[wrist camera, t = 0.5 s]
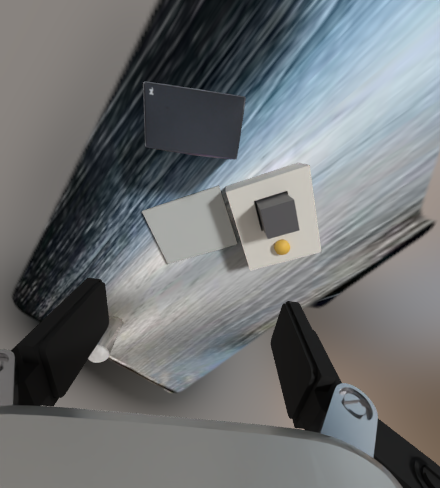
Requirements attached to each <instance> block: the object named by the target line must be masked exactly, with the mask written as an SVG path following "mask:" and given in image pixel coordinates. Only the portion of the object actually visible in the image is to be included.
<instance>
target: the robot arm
mask: <svg viewBox="0 0 440 488" xmlns="http://www.w3.org/2000/svg"><path fill="white" fill-rule="evenodd" d="M108 326H109V315H108V306H107V297H106V288H105V283H103V282H102V280H101V279H94V278H87V279H86V280H85V281H84V282H83V283H82V284H81V285H80V286H79V287H78V288H76V289H75V290H74V291H73V292H72V293H71V294H70V295H69V296H68V297H67V298H66V299H65V300H64V301H63V302H62V303H61V304H60V305H59V306H57V307H56V308H55V309H54V310H53V311H52V312H51V313H50V314H49V315H48V316H47V317H46V318H45V319H44V320H43V321H42V322H41V323H40V324H39V325H37V326H36V327H35V328H34V329H33V330H32V331H31V332H30V333H29V334H28V335H27V336H26V337H25V338H24V339H23V340H22V341H21V342H20V343H19V344H17V346H15V348H13V349H12V350H11V351H10V350H6V349H1V350H0V488H440V467H439V466H438V465H437V464H436V463H435V462H434V461H432V460H431V459H430V458H428V457H427V456H426V455H424V454H423V453H422V452H421V451H419V450H418V449H417V448H415V447H414V446H413V445H412V444H410V443H409V442H408V441H406V440H405V439H404V438H403V437H401V436H400V435H399V434H397V433H396V432H395V431H393V430H392V429H391V428H390V427H388V426H387V425H386V424H384V423H383V422H382V421H381V420H379V419H378V414H377V411H376V408H375V406H374V405H373V403H372V401H371V400H370V399H369V398H368V397H367V396H366V394H365V393H363V392H362V391H361V390H360V389H358V388H356V387H355V386H353V385H349V384H347V383H342V382H341V381H340V379H339V377H338V375H337V373H336V371H335V369H334V367H333V365H332V363H331V361H330V359H329V357H328V355H327V353H326V351H325V350H324V347H323V345H322V343H321V341H320V340H319V337H318V336H317V334H316V332H315V331H314V330H312V328H311V326H310V324H309V322H308V320H307V318H306V316H305V314H304V312H303V310H302V308H301V306H300V304H299V303H298V302H290V301H287V302H286V304H283V305H282V308H281V311H280V314H279V317H278V320H277V323H276V326H275V329H274V332H273V335H272V339H271V348H272V351H273V356H274V360H275V364H276V368H277V372H278V376H279V380H280V384H281V389H282V393H283V396H284V400H285V405H286V409H287V413H288V416H289V418H290V419H293V423H294V427H295V428H303V429H305V430H300V429H292V428H283V427H274V426H266V425H257V424H246V423H236V422H225V421H215V420H204V419H193V418H182V417H171V416H159V415H148V414H137V413H124V412H113V411H101V410H88V409H77V408H62V407H47V406H54V405H55V403H56V402H57V400H58V399H59V398H61V397H63V396H64V395H65V394H66V392H67V391H68V389H69V387H70V386H71V384H72V383H73V381H74V380H75V378H76V377H77V375H78V373H79V372H80V370H81V369H82V367H83V366H84V364H85V363H86V361H87V360H88V358H89V356H90V355H91V353H92V352H93V350H94V349H95V347H96V346H97V344H98V342H99V341H100V339H101V338H102V336H103V335H104V333H105V332H106V330H107V328H108ZM40 405H43V406H40Z"/></svg>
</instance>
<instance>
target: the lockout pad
mask: <svg viewBox="0 0 440 488" xmlns="http://www.w3.org/2000/svg"><path fill="white" fill-rule="evenodd" d="M142 213H143V215H144V217H145V219H146V221H147V223H148V225H149V227H150V229H151V231H152V233H153V235H154V237H155V239H156V241H157V243H158V245H159V247H160V249H161V251H162V253H163V255H164V257H165V259H166V261H167V263H168V264H170V263H174V262H177V261H181V260H184V259H188V258H191V257H195V256H198V255H202V254H205V253H209V252H212V251H216V250H219V249H223V248H226V247H230V246H234V245H237V240H236V237H235V234H234V231H233V228H232V225H231V222H230V218H229V215H228V212H227V209H226V206H225V203H224V200H223V196H222V193H221V190H220V187H219V186H216V187H213V188H209V189H206V190H203V191H200V192H197V193H194V194H191V195H188V196H185V197H182V198H179V199H176V200H173V201H170V202H167V203H164V204H161V205H158V206H155V207H152V208H149V209H146V210H143V211H142Z"/></svg>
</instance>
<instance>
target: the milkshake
mask: <svg viewBox="0 0 440 488" xmlns="http://www.w3.org/2000/svg"><path fill="white" fill-rule="evenodd" d="M122 325H123V321H122V319H120V318H119V317H112V318H110V319H109V326H108V328H107V330H106V332H105V333H104V335H103V336H102V338H101V339H100V341H99V342H98V344H97V346H96V347H95V349H94V350H93V352H92V353H91V355H90V356H89V358H88V359H89V360H90V361H92V362H94V363H95V362H96V363H97V362H103V361H105V360H106V359H108V357H109V355H110V353H111V350H112V348H113V345H114V343H115V340H116V338H117V336H118V334H119V332H120V330H121V328H122Z"/></svg>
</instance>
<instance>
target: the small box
mask: <svg viewBox="0 0 440 488" xmlns="http://www.w3.org/2000/svg"><path fill="white" fill-rule="evenodd" d="M143 94H144V129H145V146H146V147H147V148H152V149H158V150H164V151H170V152H176V153H183V154H189V155H195V156H205V157H213V158H222V159H237V154H238V149H239V142H240V135H241V128H242V121H243V114H244V107H245V96H239V95H232V94H226V93H219V92H213V91H206V90H200V89H193V88H186V87H179V86H172V85H167V84H159V83H152V82H146V81H145V82H144V83H143Z"/></svg>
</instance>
